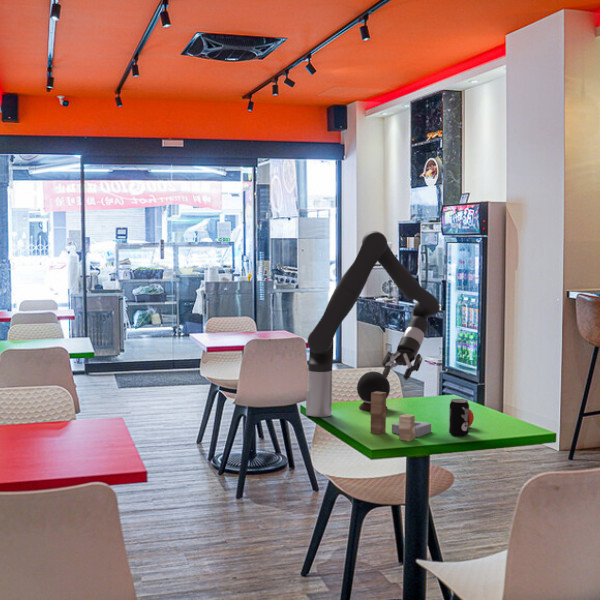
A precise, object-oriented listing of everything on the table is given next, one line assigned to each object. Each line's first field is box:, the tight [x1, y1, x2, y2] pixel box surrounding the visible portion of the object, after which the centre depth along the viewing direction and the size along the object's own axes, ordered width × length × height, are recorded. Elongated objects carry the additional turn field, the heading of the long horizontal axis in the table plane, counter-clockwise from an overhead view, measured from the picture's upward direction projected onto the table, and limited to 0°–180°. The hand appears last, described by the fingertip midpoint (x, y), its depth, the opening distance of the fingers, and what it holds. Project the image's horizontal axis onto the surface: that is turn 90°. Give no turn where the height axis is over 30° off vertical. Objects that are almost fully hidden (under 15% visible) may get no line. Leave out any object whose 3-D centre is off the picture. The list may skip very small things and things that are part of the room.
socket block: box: [391, 420, 432, 438], centre depth 276 cm, size 10×10×3 cm
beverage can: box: [448, 398, 470, 437], centre depth 273 cm, size 7×7×12 cm
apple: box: [469, 408, 475, 427], centre depth 284 cm, size 8×8×8 cm
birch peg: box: [398, 413, 416, 442], centre depth 265 cm, size 4×4×8 cm
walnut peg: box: [370, 391, 387, 435], centre depth 275 cm, size 4×4×14 cm
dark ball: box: [356, 370, 391, 412], centre depth 317 cm, size 13×13×15 cm
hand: (394, 377), depth 283 cm, fingers open, 8 cm apart
